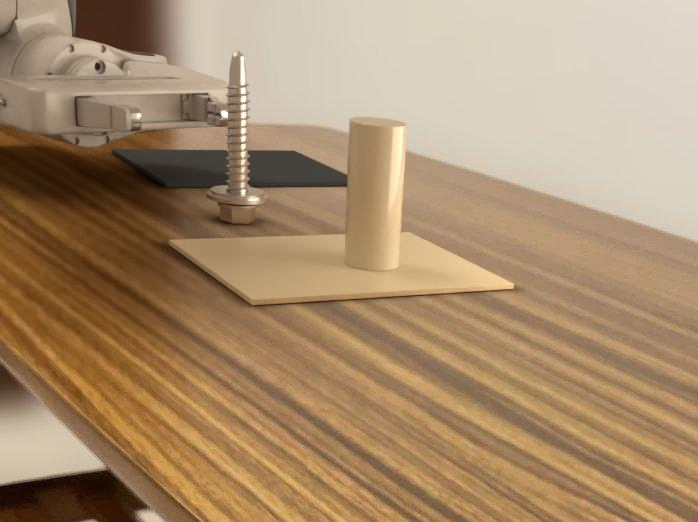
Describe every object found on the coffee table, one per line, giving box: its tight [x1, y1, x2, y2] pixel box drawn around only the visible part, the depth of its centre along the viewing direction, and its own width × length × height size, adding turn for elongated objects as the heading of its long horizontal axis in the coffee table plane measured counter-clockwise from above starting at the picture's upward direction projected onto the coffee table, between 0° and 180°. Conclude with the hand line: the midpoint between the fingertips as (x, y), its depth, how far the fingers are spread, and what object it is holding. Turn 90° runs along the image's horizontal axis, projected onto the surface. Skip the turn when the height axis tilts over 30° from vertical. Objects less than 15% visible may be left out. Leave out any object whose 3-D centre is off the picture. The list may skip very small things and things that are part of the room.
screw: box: [206, 49, 269, 225], centre depth 97 cm, size 13×5×5 cm
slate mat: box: [111, 148, 347, 188], centre depth 119 cm, size 19×16×1 cm
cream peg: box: [344, 116, 408, 271], centre depth 88 cm, size 4×4×10 cm
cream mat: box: [168, 231, 515, 306], centre depth 90 cm, size 20×16×1 cm
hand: (182, 118), depth 100 cm, fingers open, 8 cm apart
